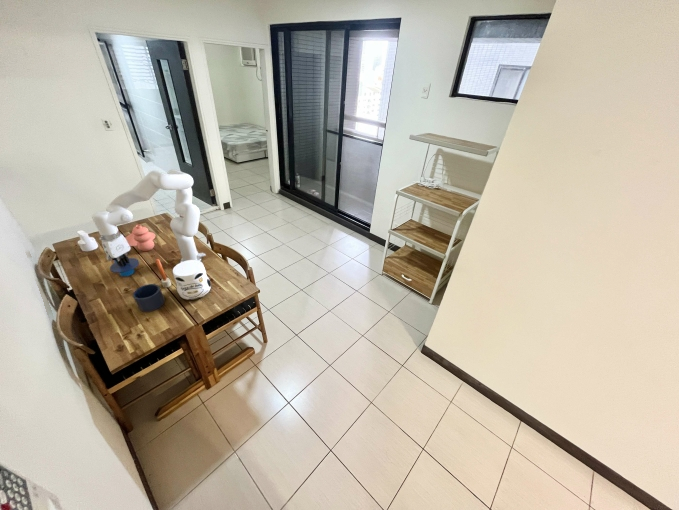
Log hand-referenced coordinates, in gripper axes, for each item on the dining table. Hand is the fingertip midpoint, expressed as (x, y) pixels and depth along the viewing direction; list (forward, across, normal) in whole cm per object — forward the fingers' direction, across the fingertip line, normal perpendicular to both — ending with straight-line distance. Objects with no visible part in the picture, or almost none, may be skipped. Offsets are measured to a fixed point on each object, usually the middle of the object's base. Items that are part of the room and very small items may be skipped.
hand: (124, 264), depth 149 cm
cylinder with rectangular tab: (+18, +19, +64) cm, 69 cm away
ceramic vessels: (+17, +38, +40) cm, 58 cm away
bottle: (+18, +9, +17) cm, 26 cm away
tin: (+17, -6, -19) cm, 27 cm away
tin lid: (+1, 0, 0) cm, 1 cm away
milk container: (+18, +10, -34) cm, 40 cm away
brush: (+17, +9, -14) cm, 24 cm away
